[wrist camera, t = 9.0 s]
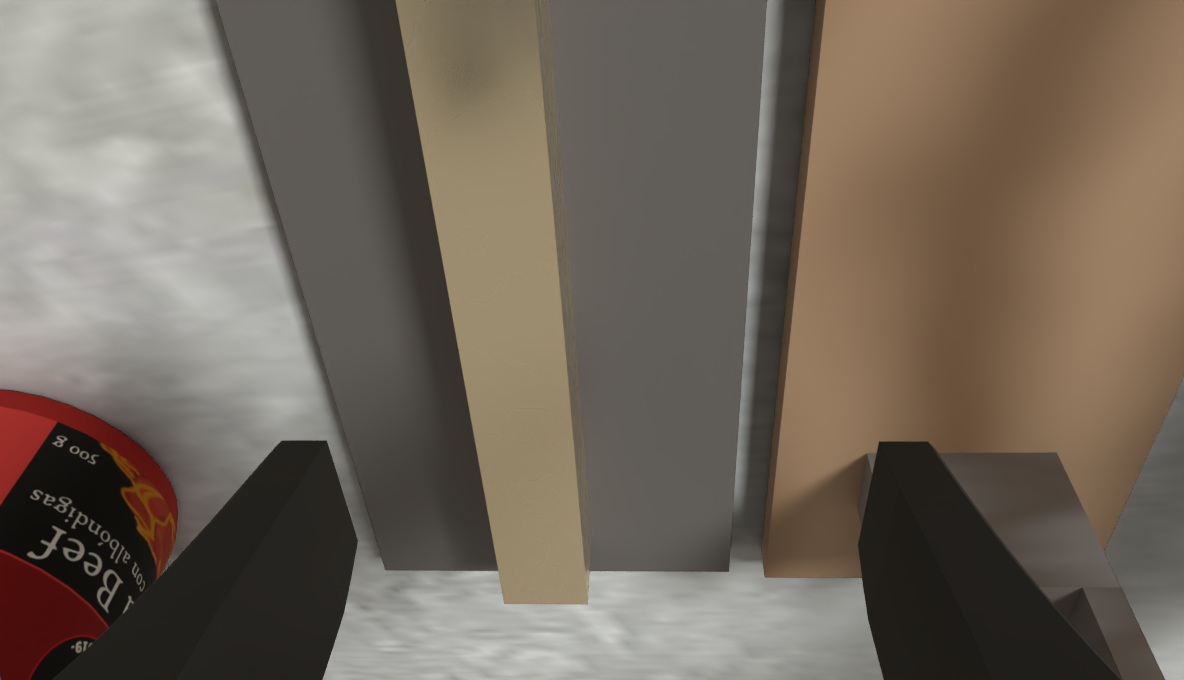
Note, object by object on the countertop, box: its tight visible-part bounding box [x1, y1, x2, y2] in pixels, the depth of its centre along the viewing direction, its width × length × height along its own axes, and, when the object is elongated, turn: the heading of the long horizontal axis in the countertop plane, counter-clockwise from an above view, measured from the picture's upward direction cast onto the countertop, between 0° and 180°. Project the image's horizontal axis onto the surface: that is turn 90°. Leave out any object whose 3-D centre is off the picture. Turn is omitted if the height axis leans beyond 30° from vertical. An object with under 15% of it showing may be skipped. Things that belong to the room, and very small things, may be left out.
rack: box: [761, 0, 1184, 680], centre depth 16 cm, size 9×28×7 cm, turn 3°
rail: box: [395, 0, 591, 604], centre depth 18 cm, size 2×25×2 cm, turn 3°
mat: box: [216, 0, 767, 572], centre depth 19 cm, size 10×28×1 cm, turn 3°
